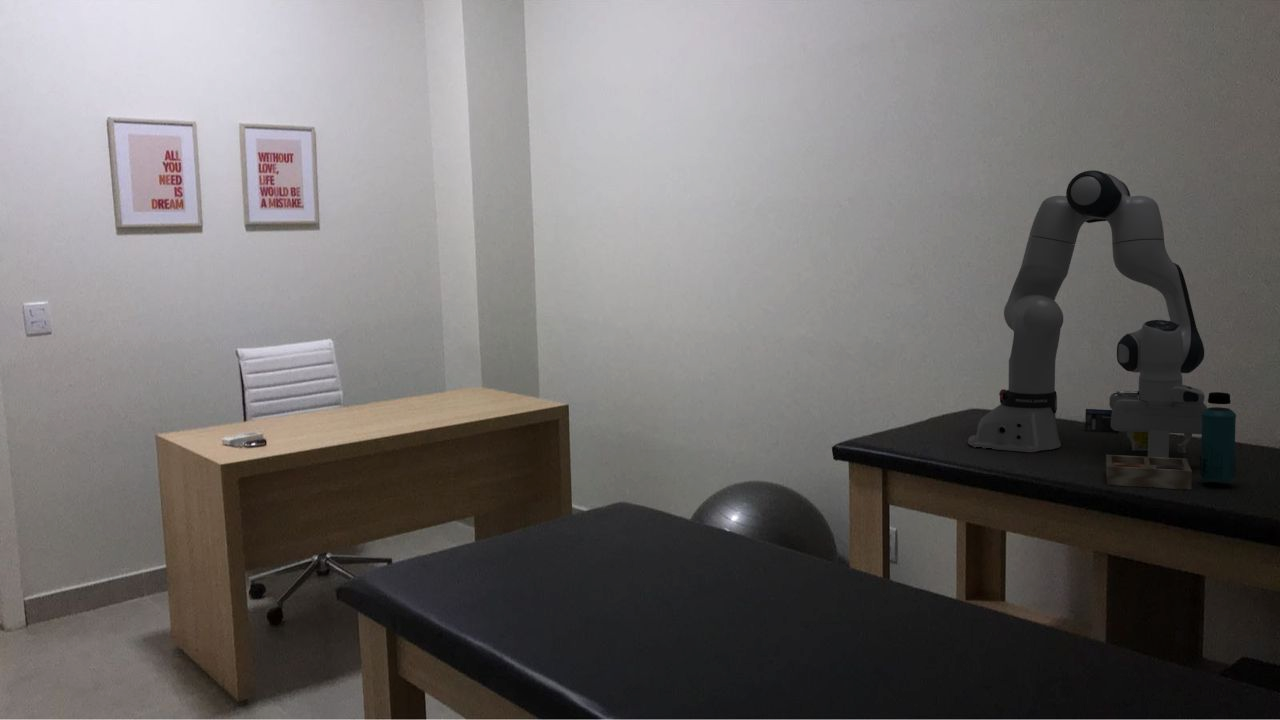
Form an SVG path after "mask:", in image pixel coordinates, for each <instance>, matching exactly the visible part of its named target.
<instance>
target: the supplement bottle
mask: <svg viewBox="0 0 1280 720" xmlns="http://www.w3.org/2000/svg"><path fill="white" fill-rule="evenodd" d="M1132 437H1133V439H1134V440H1135V442H1139V451H1141V452H1142V451H1143V452H1148V432H1134V436H1132ZM1130 445H1131V446H1130V447H1131V448H1132V442H1130Z"/></svg>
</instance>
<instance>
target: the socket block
mask: <svg viewBox="0 0 1280 720" xmlns="http://www.w3.org/2000/svg"><path fill="white" fill-rule="evenodd" d="M1105 476H1106V485H1107V486H1122V487H1124V486H1125V487H1135V488H1136V487H1137V486H1138V488H1140V487H1141V488H1152V487H1153V489H1154V488H1157V489H1168V490H1169V489H1171V490H1173V489H1175V490H1185V489H1187V490H1188V491H1192V478H1193V471H1192V468H1191V466H1190V464H1189V462H1188V459H1187V458H1184V457H1183V458H1180V457H1179V458H1178V457H1169V458H1163V457H1148V456H1142V455H1141V456H1140V455H1139V456H1138V455H1123V454H1122V455H1121V454H1119V455H1118V454H1105ZM1187 490H1186V491H1187Z"/></svg>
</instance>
